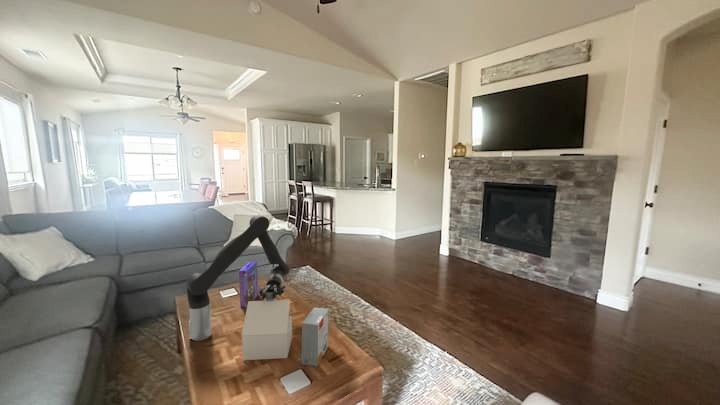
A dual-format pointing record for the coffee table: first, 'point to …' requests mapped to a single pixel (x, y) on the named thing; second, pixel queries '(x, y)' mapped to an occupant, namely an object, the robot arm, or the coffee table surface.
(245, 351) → the carton
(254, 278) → the cereal box
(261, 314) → the flap
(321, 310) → the hard drive box
